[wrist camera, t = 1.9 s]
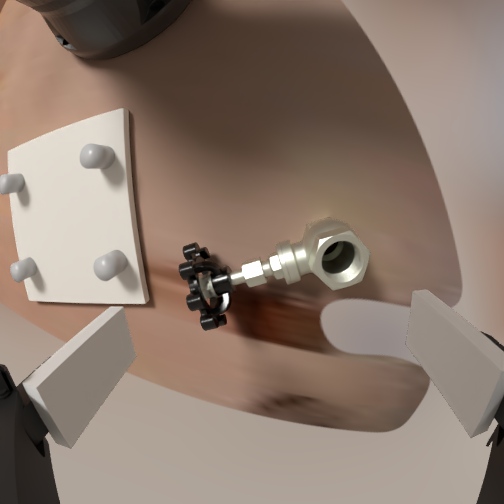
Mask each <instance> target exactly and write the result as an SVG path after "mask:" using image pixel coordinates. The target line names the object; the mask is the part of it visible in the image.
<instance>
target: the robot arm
mask: <svg viewBox="0 0 504 504" xmlns="http://www.w3.org/2000/svg"><path fill="white" fill-rule="evenodd" d="M17 1H19V2H21V3H23V4H25V5H27V6H29V7H31V8H33V9H34V10H36V11H38V12H39V13H41V15H42V17H43V18H44V20H45V22H46V23H47V25H48V26H49V28H50V29H51V31H52V32H53V34H54V35H55V37H56V39H57V40H58V42H59V43H60V44H61V45H62V46H63V47H64V48H65V49H66V50H68V51H70V52H72V53H74V54H75V55H77V56H79V57H82V58H85V59H91V60H100V59H107V58H111V57H115V56H118V55H121V54H124V53H127V52H129V51H131V50H133V49H135V48H137V47H139V46H141V45H143V44H145V43H146V42H148V41H149V40H151V39H153V38H154V37H155V36H157V35H158V34H160V33H161V32H162V31H163V30H165V29H166V28H167V27H168V26H169V25H170V24H172V23H173V22H174V21H175V20H176V19H177V18H178V17H179V15H180V14H181V13H182V12H183V11H184V9H185V8H186V7H187V5H188V4H189V2H190V1H191V0H17ZM405 344H406V346H407V347H408V348H409V350H410V351H411V352H412V354H413V355H414V357H415V358H416V359H417V361H418V362H419V363H420V365H421V366H422V367H423V369H424V370H425V372H426V373H427V374H428V376H429V377H430V378H431V380H432V381H433V383H434V384H435V385H436V387H437V388H438V390H439V391H440V393H441V394H442V396H443V397H444V398H445V400H446V401H447V403H448V404H449V406H450V407H451V408H452V410H453V411H454V413H455V414H456V416H457V417H458V419H459V421H460V422H461V423H462V425H463V427H464V428H465V430H466V431H467V433H468V435H469V436H470V438H472V437H474V436H476V435H478V434H481V433H483V432H485V431H487V430H488V428H489V426H490V424H491V422H492V420H493V419H494V418H495V419H496V421H497V422H498V425H497V427H496V429H495V430H494V432H493V434H492V436H491V437H490V439H489V441H488V443H487V445H486V446H489V445H490V443H491V442H492V441H493V443H492V448H491V453H490V457H489V462H488V466H487V470H486V474H485V478H484V481H483V484H482V488H481V491H480V494H479V497H478V501H477V503H476V504H504V346H503V345H501V344H499V342H498V341H497V340H495V339H494V338H493V337H492V336H490V335H488V334H485V333H483V332H480V331H479V330H478V329H476V328H475V327H474V326H473V325H472V324H470V323H469V322H468V321H467V320H465V319H464V318H463V317H462V316H460V315H459V314H458V313H457V312H455V311H454V310H453V309H452V308H450V307H449V306H448V305H447V304H445V303H444V302H443V301H441V300H440V299H439V298H437V297H436V296H435V295H433V294H432V293H431V292H430V291H428V290H427V289H424V290H416V291H413V292H412V301H411V310H410V318H409V325H408V332H407V337H406V343H405ZM136 357H137V356H136V353H135V349H134V346H133V342H132V338H131V335H130V331H129V327H128V323H127V319H126V315H125V311H124V307H112V306H110V307H109V308H108V309H107V310H105V311H104V312H103V313H102V314H101V315H99V316H98V317H97V318H96V319H95V320H93V321H92V322H91V323H90V324H89V325H87V326H86V327H85V328H84V329H83V330H81V331H80V332H79V333H78V334H77V335H76V336H74V337H73V338H72V339H71V340H70V341H69V342H67V343H66V344H65V345H64V346H63V347H62V348H60V349H59V350H58V351H57V352H56V353H55V354H54V355H52V356H51V357H49V358H48V359H47V360H46V361H45V362H43V363H42V365H40V366H39V367H38V368H37V370H35V371H33V372H32V373H31V374H30V375H29V376H28V377H27V378H26V379H25V380H23V381H22V382H21V383H20V384H19V385H18V386H17V387H16V386H15V384H14V382H13V379H12V377H11V375H10V373H9V371H8V369H7V367H6V366H5V365H2V364H0V504H60V501H59V497H58V493H57V488H56V484H55V479H54V474H53V469H52V463H51V457H50V450H49V444H48V441H47V440H46V438H45V436H46V434H47V433H48V432H49V433H50V434H51V436H52V438H53V439H54V441H55V442H56V443H57V444H60V445H62V446H65V447H68V448H72V447H73V445H74V444H75V443H76V441H77V440H78V438H79V437H80V435H81V434H82V432H83V431H84V429H85V428H86V427H87V425H88V424H89V422H90V421H91V419H92V418H93V417H94V415H95V414H96V412H97V411H98V410H99V408H100V406H101V405H102V404H103V403H104V401H105V400H106V398H107V397H108V395H109V394H110V393H111V391H112V390H113V389H114V387H115V386H116V384H117V383H118V382H119V380H120V379H121V378H122V376H123V375H124V373H125V372H126V371H127V369H128V368H129V367H130V365H131V364H132V363H133V361H134V360H135V358H136Z"/></svg>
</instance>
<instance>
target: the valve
mask: <svg viewBox="0 0 504 504" xmlns="http://www.w3.org/2000/svg"><path fill="white" fill-rule="evenodd" d="M335 242H338V245H337V247H336V249H335V250H334V251H333V252H332V253H330V254H328V255H323V254H324V252H325V250H326V249H327V248H328V247H329V246H330V245H332V244H333V243H335ZM276 250H277V252H275V253H272V254H270V255H269V259H268V260H265V261H262V260H261V258H260V257H259V258H255V259H252V260H249V261H246V262H243V263H242V269H240V270H236V271H233V272H232V270H231V269H230V267H229V266H225V267H222V268H220V266H219V265H217V264H216V263H214V262H210V261H205V259H207V258H210V254H209V251H208V249H207V248H206V247H203V248H200V247H199V245H198V244H197V243H196V242H195V243H192V244H189V245H186V246H184V247H183V254H184V257H185V259H186V260H187V261H188V262H185V263H182V264H180V265H179V273H180V275H181V277H182V279H183V280H187V281H188V284H189V288H190V294H189V295H187V297H186V301H187V305H188V308H189V309H190V310H191V311H196V310H199V311H200V313H201V317H200V323H201V326H202V328H203V329H204V330H205V331H207V330H211V329H215V328H218V327H219V326H223V325H226V324H227V319H226V315H225V314H223V313H224V312H226V311H227V310H228V309H229V307H230V305H231V294H232V293H235V292H236V285H238V284H241V283H245V282H246V283H247V285H248V286H249V287H253V286H257V285H260V284H264V283H267V277H269V276H275V278H276V279H281V278H284V277H285V280H286V282H287V284H292V283H295V282H298V281H301V276H302V275H305V274H308V273H313V274H315V275H317V276H318V277H319V278H320V279H321V280H322V281H323V282H324V283H325V284H326V285H327V286H328V287H329V288H331V289H332V290H337V289H341V288H345V287H348V286H351V285H354V284H356V283H359V282H361V281H362V279H363V277H364V274H365V271H366V268H367V265H368V261H369V257H370V251H369V250H368V248H367V247H366V246H365V245H364V244H363V243H362V242H361V241H360V240H359V237H358V235H357V234H356V232H355V231H354V229H353V228H352V227H351V226H349V225H348V224H347V223H345V222H343V221H340V220H337V219H331V218H330V217H328V218H324V219H321V220H318V221H314V222H311V223H308V224H306V228H305V232H304V236H303V240H301V241H299V242H296V243H293V244H292V243H290V241H289V240H286V241H283V242H280V243H277V244H276ZM201 272H202V274H203V275H201V276H200V277H199V275H198V273H201ZM208 298H210V306H209V304H208V303H207V301H206V300H205V299H208ZM220 314H223V315H220Z"/></svg>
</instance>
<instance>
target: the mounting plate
mask: <svg viewBox="0 0 504 504" xmlns="http://www.w3.org/2000/svg"><path fill="white" fill-rule="evenodd" d="M0 193H1V194H10V203H11V212H12V220H13V227H14V234H15V240H16V246H17V251H18V256H19V261H18V262H16V263H13V264H12V265H11V275H12V277H13V279H14V280H15V281H16V282H21V281H23V280H24V283H25V287H26V291H27V294H28V298H29V301H45V302H68V303H105V304H146V303H147V302H148V301H149V300H150V299H149V294H148V289H147V284H146V278H145V273H144V267H143V261H142V255H141V249H140V242H139V235H138V228H137V220H136V212H135V203H134V193H133V183H132V171H131V157H130V139H129V110H127V109H125V108H121V109H117V110H113V111H110V112H107V113H103V114H100V115H97V116H94V117H91V118H88V119H85V120H82V121H79V122H76V123H73V124H70V125H68V126H65V127H62V128H60V129H57V130H55V131H52V132H50V133H47V134H45V135H42V136H40V137H37V138H35V139H33V140H31V141H28V142H26V143H24V144H22V145H20V146H18V147H15V148H13V149H11V150H9V151H8V174H3V175H1V176H0Z"/></svg>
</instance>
